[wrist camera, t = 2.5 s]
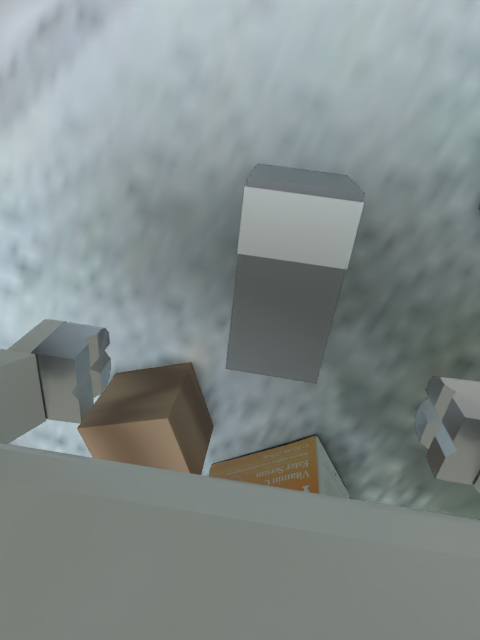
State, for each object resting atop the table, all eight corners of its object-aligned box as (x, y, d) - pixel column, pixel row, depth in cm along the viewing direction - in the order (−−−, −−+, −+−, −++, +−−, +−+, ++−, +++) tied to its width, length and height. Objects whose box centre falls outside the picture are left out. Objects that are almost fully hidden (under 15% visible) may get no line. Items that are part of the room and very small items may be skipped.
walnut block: (191, 361, 23) (167, 418, 19) (213, 425, 25) (196, 490, 21) (116, 372, 24) (77, 428, 20) (143, 433, 26) (113, 495, 22)
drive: (347, 175, 17) (366, 193, 13) (312, 329, 21) (317, 384, 17) (257, 163, 18) (245, 177, 13) (238, 317, 21) (224, 369, 17)
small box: (317, 431, 24) (333, 624, 15) (349, 490, 26) (380, 693, 17) (208, 463, 27) (162, 645, 17) (244, 514, 29) (221, 703, 19)
